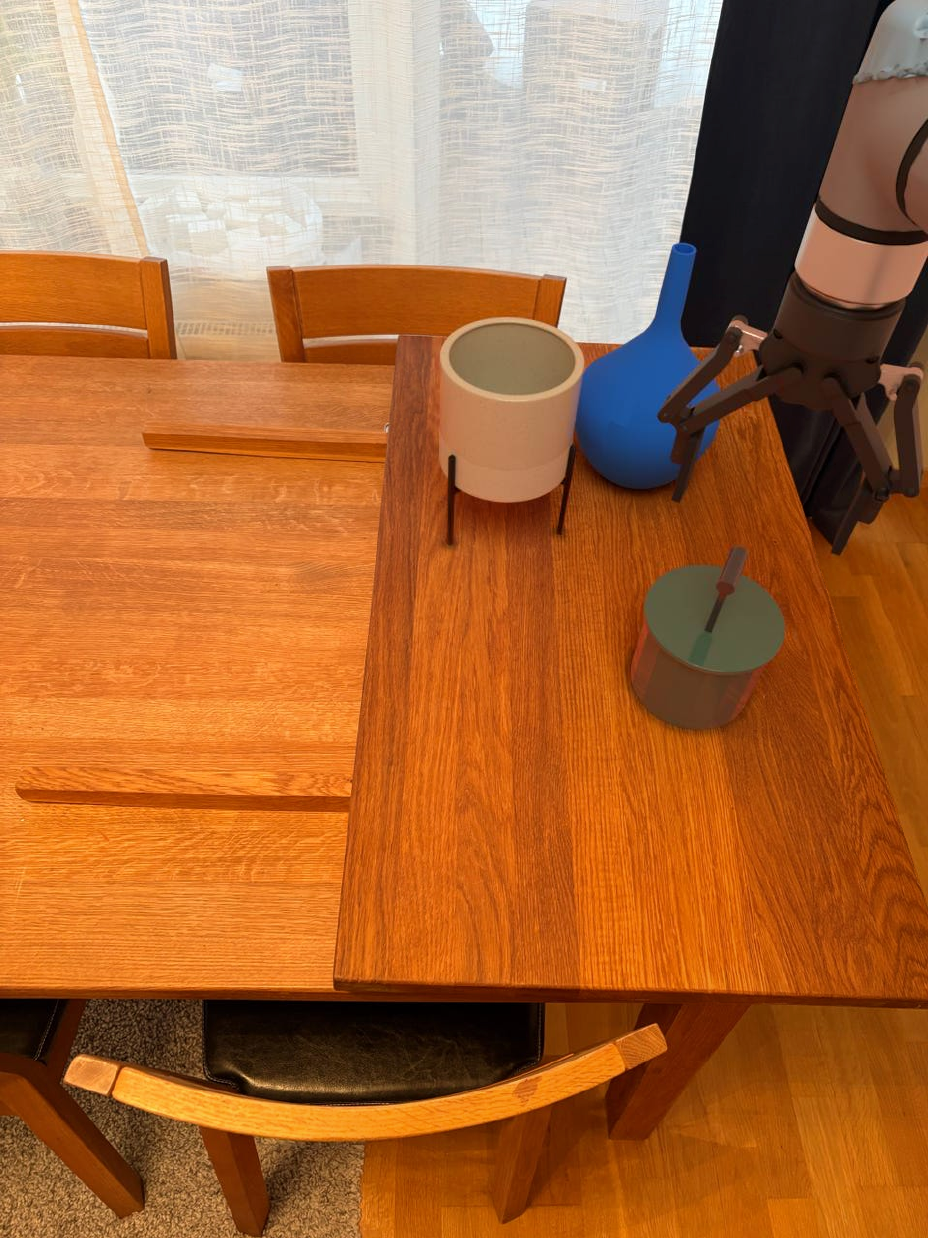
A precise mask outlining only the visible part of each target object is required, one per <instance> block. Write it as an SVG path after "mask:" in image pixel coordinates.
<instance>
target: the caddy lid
mask: <svg viewBox="0 0 928 1238" xmlns="http://www.w3.org/2000/svg"><path fill="white" fill-rule="evenodd" d="M748 557H749V552H748V550H747V549H746V548H745V547H743V546H738V545H737V546H733V547H732V548H731V549H730V551H729V553H728V556H727V558H726V559H725V560H726V561H725V563H724V565H723V566H717V565H710V564H689V565H684V566H680V567H677V568H674V569H672V570H669V571H667V572H665V573H664V574H662V575H661V576H659V577H658V578H657V579H656V580H655V581H654V582H653V583H652V584H651V586H650V587H649V589H648V591H647V594H646V596H645V597H644V604H643V618H644V619H643V620H645V623H646V626H647V629H648V631H649V633H650V634H651V636H652V638H653V639H654V641H655V642H656V643H657V644H658V645H659V646H660V648H661V649H662V650H664V651H665V652H666V653H667V654H668V655H669V656H671V657H672V658H674V659H675V660H676V661H678V662H680V663H682V664H684V665H686V666H688V667H690V668H692V669H695V670H698V671H701V672H705V673H709V674H715V675H740V674H745V673H749V672H752V671H755V670H757V669H759V668H761V667H763V666H765V667H766V665H768V664H769V663H770V662H771V661H772V660H773V659H774V658H775V657H776V656H777V655H778V654H779V652H780V650H781V648H782V645H783V643H784V640H785V637H786V623H785V618H784V615H783V613H782V612H783V611H782V610H781V608H780V606H779V604H778V603H777V602H776V600H775V598H774V597H773V596H772V595H771V593H769V592H768V591H767V590H766V589H765V588H764V587H763V586H762V585H760V584H759V583H758V582H757V581H755V580H753V579H752V578H750V577H748V576H746V575H745V574H742V573H743V570H744V568H745V565H746V562H747V560H748Z"/></svg>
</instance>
